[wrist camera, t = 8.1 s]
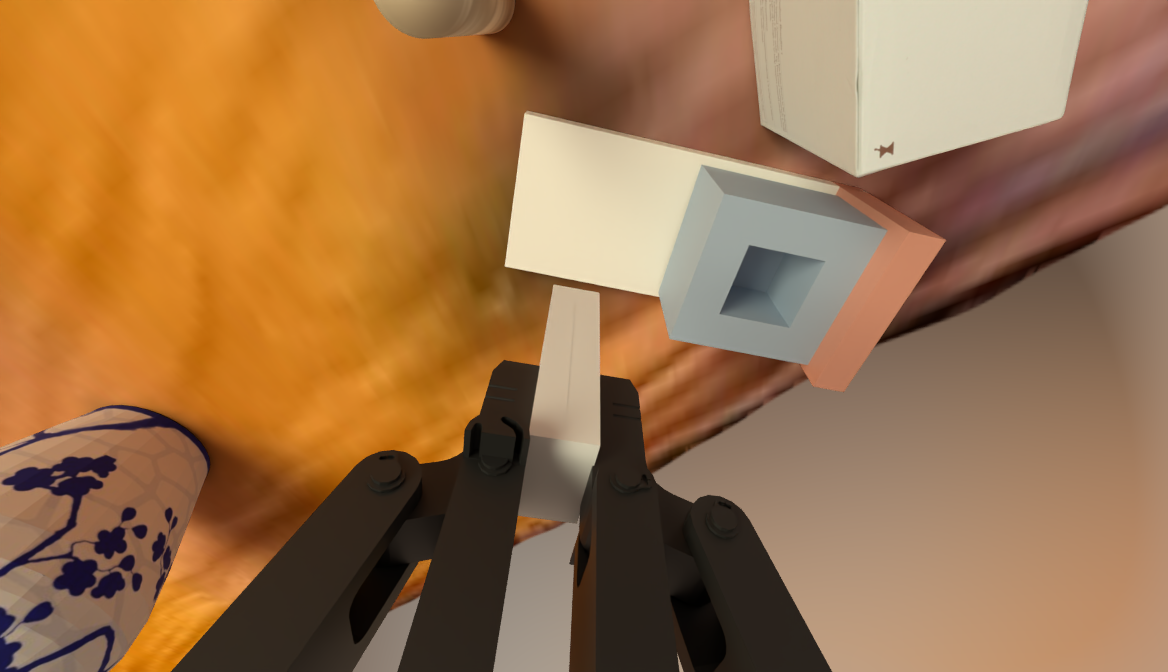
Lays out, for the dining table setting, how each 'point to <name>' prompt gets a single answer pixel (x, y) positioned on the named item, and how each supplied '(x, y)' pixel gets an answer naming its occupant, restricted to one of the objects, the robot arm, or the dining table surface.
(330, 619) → the robot arm
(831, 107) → the supplement box
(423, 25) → the dowel
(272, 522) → the dining table surface
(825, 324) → the socket block
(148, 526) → the vase
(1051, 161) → the dining table surface
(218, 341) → the dining table surface
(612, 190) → the peg insertion fixture
